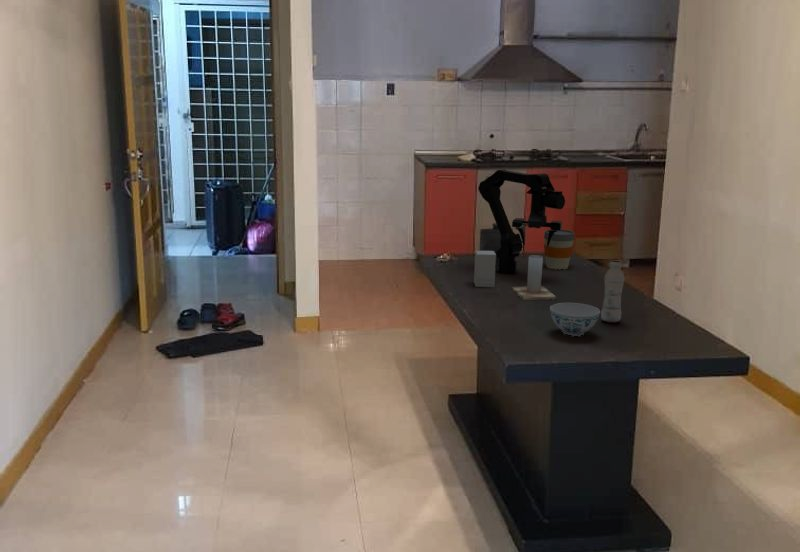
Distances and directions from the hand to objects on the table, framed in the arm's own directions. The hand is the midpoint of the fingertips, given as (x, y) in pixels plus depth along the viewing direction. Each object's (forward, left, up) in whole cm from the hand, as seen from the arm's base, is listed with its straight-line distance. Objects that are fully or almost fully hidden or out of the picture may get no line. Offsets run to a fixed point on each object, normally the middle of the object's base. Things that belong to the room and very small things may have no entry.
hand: (535, 245), depth 307 cm
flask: (-19, +15, -13) cm, 28 cm away
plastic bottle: (+33, -49, -13) cm, 61 cm away
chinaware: (+23, -66, -13) cm, 71 cm away
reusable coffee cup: (+6, +23, -13) cm, 27 cm away
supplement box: (-16, -18, -13) cm, 27 cm away
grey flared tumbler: (+4, -25, -12) cm, 28 cm away
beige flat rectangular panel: (+4, -25, -13) cm, 28 cm away
